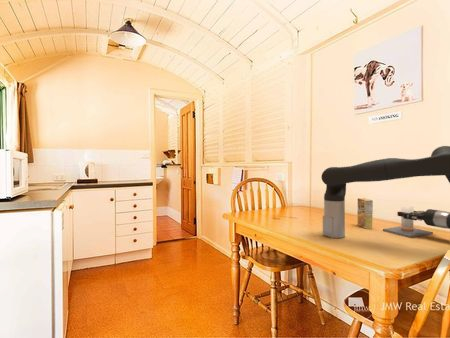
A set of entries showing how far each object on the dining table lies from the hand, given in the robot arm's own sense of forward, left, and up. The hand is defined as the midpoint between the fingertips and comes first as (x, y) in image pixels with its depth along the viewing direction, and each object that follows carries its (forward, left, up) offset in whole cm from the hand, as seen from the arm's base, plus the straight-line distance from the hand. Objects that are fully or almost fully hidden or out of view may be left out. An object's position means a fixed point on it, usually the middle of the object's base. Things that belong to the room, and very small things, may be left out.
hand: (403, 212), depth 134 cm
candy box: (-9, +15, -10) cm, 20 cm away
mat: (0, -2, -9) cm, 10 cm away
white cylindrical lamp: (0, -2, -8) cm, 9 cm away
